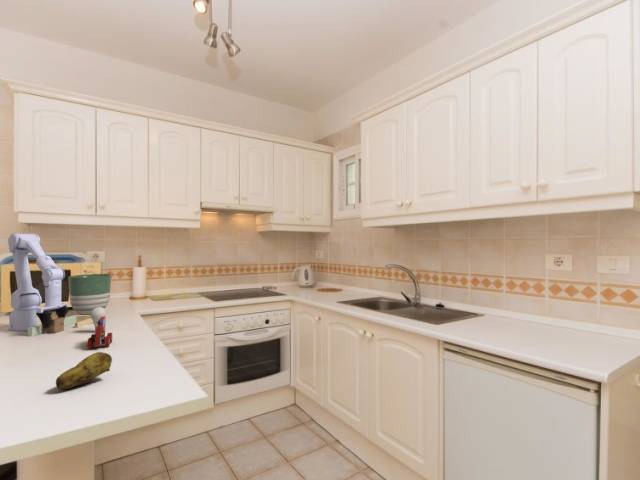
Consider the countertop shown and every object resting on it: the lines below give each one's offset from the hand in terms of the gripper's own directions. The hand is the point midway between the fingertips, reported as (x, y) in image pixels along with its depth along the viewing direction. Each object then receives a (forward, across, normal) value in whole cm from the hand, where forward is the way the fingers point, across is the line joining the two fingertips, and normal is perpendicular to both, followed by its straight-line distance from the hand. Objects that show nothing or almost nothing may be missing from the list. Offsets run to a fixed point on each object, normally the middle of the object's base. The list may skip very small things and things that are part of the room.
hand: (53, 325), depth 152 cm
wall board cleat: (+3, +5, 0) cm, 6 cm away
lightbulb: (+3, +1, -20) cm, 21 cm away
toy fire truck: (+3, -18, -35) cm, 40 cm away
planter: (+3, +36, +11) cm, 38 cm away
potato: (+3, -52, -56) cm, 77 cm away
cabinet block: (+3, 0, 0) cm, 3 cm away
